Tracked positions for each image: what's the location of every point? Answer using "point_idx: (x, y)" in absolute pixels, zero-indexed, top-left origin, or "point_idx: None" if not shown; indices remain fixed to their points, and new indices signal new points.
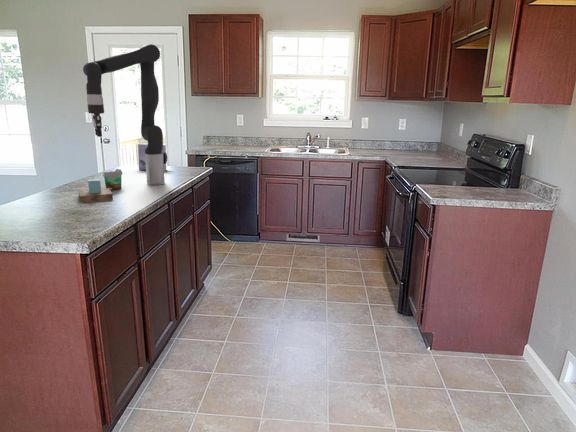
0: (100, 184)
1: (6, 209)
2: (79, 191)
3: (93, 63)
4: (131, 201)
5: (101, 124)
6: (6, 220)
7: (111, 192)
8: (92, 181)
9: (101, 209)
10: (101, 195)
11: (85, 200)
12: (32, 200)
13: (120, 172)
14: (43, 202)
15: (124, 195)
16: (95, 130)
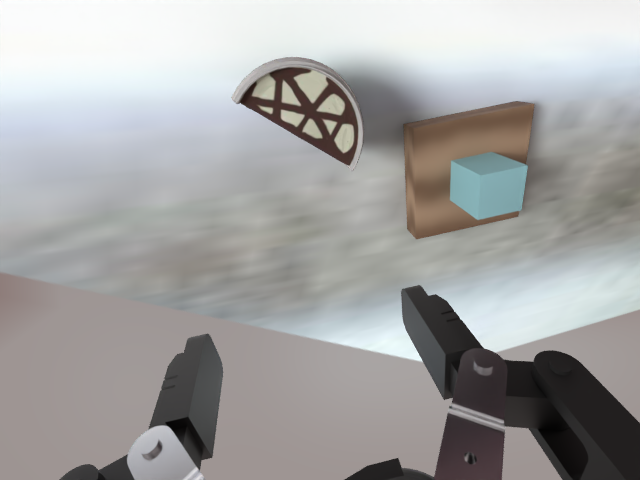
0: (514, 160)
1: None
2: (432, 232)
3: None
4: (583, 17)
5: (491, 419)
6: (589, 321)
7: (507, 109)
8: (522, 195)
9: (630, 131)
10: (525, 146)
11: None
12: None
13: (328, 70)
14: None
15: (454, 52)
16: (215, 422)
